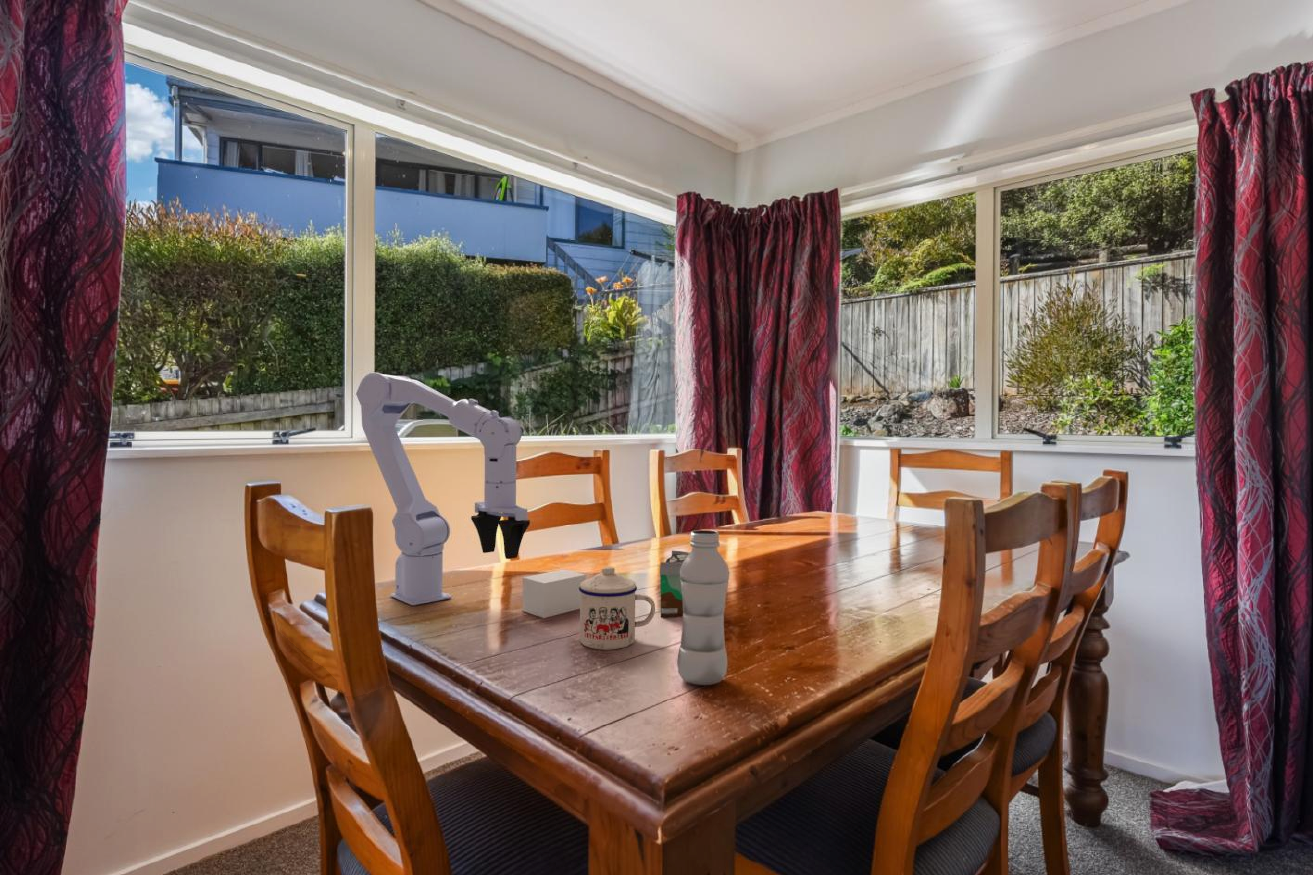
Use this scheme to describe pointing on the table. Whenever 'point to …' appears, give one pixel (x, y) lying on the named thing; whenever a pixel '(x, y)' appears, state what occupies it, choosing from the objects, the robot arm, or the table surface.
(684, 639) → the plastic bottle
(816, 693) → the table surface
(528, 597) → the white block
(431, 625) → the table surface
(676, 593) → the food container
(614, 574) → the teacup with lid
